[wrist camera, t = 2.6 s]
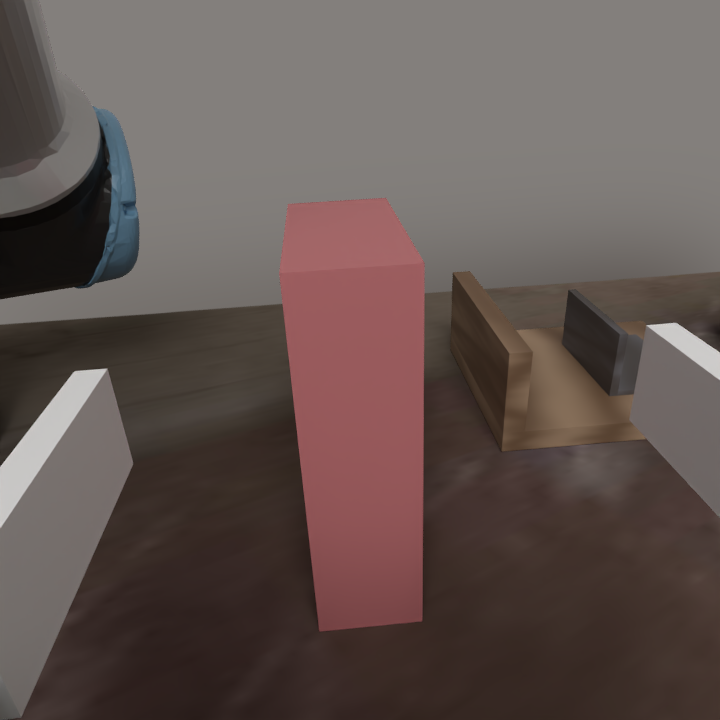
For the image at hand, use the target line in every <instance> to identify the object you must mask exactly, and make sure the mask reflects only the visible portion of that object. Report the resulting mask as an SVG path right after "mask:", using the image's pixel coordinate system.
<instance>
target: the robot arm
mask: <svg viewBox="0 0 720 720" xmlns="http://www.w3.org/2000/svg"><path fill="white" fill-rule="evenodd" d="M135 204H136V189H135V182H134V176H133V171H132V165H131V160H130V156H129V151H128V147H127V144H126V140H125V137H124V134H123V131H122V128H121V126H120V123H119V121H118V120H117V118H116V117H115V116H114V115H113V114H112V113H111V112H109V111H108V110H105V109H97V108H95V107H94V106H92V105H91V103H90V101H89V99H88V98H87V96H86V95H85V93H84V92H83V91H82V90H81V89H80V88H79V86H77V84H76V83H75V82H73V81H72V80H71V79H70V78H68V77H67V76H66V75H65V74H63V73H62V72H60V71H59V70H57V67H56V63H55V59H54V56H53V52H52V48H51V44H50V40H49V36H48V33H47V29H46V25H45V21H44V17H43V13H42V9H41V5H40V2H39V0H0V299H5V298H11V297H17V296H23V295H29V294H35V293H41V292H47V291H53V290H58V289H65V288H72V287H75V288H87V287H90V286H92V285H93V284H95V283H98V282H103V281H107V280H112V279H116V278H120V277H123V276H124V275H126V274H127V273H129V272H130V271H131V270H132V268H133V267H134V265H135V263H136V261H137V257H138V251H139V219H138V212H137V209H136V207H135ZM629 420H630V421H631V422H632V423H633V425H634V426H635V427H636V428H637V429H638V430H639V431H640V432H641V433H642V434H643V435H644V436H645V437H646V439H647V440H648V441H649V442H650V443H651V444H652V445H653V446H654V447H655V448H656V449H657V450H658V451H659V453H660V454H661V455H662V456H663V457H664V458H665V459H666V460H667V461H668V462H669V463H670V464H671V466H672V467H673V468H674V469H675V470H676V471H677V472H678V473H679V474H680V475H681V476H682V477H683V478H684V480H685V481H686V482H687V483H688V484H689V485H690V486H691V487H692V488H693V489H694V490H695V491H696V493H697V494H698V495H699V496H700V497H701V498H702V499H703V500H704V501H705V502H706V503H707V504H708V505H709V507H710V508H711V509H712V510H713V511H714V512H715V513H716V514H717V515H718V516H719V517H720V352H718V351H717V350H715V349H714V348H712V347H711V346H709V345H708V344H706V343H705V342H703V341H702V340H700V339H699V338H698V337H696V336H695V335H693V334H692V333H690V332H689V331H687V330H686V329H684V328H683V327H681V326H680V325H678V324H677V323H670V324H658V325H646V330H645V335H644V341H643V347H642V352H641V358H640V363H639V369H638V374H637V380H636V385H635V391H634V396H633V402H632V407H631V413H630V419H629ZM132 466H133V461H132V457H131V453H130V449H129V446H128V442H127V438H126V435H125V431H124V427H123V424H122V420H121V416H120V413H119V409H118V405H117V402H116V398H115V394H114V390H113V387H112V383H111V379H110V376H109V372H108V369H96V370H84V371H74V373H73V374H72V375H71V376H70V378H69V379H68V380H67V382H66V383H65V384H64V385H63V387H62V388H61V389H60V391H59V392H58V393H57V394H56V396H55V397H54V398H53V400H52V401H51V402H50V404H49V405H48V406H47V407H46V409H45V410H44V411H43V413H42V414H41V415H40V416H39V418H38V419H37V420H36V422H35V423H34V424H33V425H32V427H31V428H30V429H29V431H28V432H27V433H26V434H25V436H24V437H23V438H22V440H21V441H20V442H19V444H18V445H17V446H16V447H15V449H14V450H13V451H12V453H11V454H10V455H9V456H8V458H7V459H6V460H5V462H4V463H3V464H2V465H1V467H0V720H3V719H12V718H21V717H22V714H23V712H24V710H25V708H26V705H27V703H28V701H29V699H30V696H31V694H32V692H33V690H34V687H35V685H36V683H37V681H38V678H39V676H40V674H41V671H42V669H43V667H44V665H45V662H46V660H47V658H48V656H49V653H50V651H51V649H52V647H53V644H54V642H55V640H56V638H57V635H58V633H59V631H60V629H61V626H62V624H63V622H64V619H65V617H66V615H67V613H68V610H69V608H70V606H71V604H72V601H73V599H74V597H75V595H76V592H77V590H78V588H79V586H80V583H81V581H82V579H83V577H84V574H85V572H86V570H87V567H88V565H89V563H90V561H91V558H92V556H93V554H94V552H95V549H96V547H97V545H98V543H99V540H100V538H101V536H102V534H103V531H104V529H105V527H106V525H107V522H108V520H109V518H110V515H111V513H112V511H113V509H114V506H115V504H116V502H117V500H118V497H119V495H120V493H121V491H122V488H123V486H124V484H125V482H126V479H127V477H128V475H129V472H130V470H131V468H132Z"/></svg>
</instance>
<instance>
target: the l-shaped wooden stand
mask: <svg viewBox="0 0 720 720" xmlns="http://www.w3.org/2000/svg"><path fill="white" fill-rule="evenodd" d="M452 285H453V286H452V319H451V352H452V354H453V356H454V358H455V360H456V362H457V364H458V366H459V368H460V370H461V372H462V374H463V376H464V378H465V380H466V382H467V384H468V386H469V387H470V389H471V391H472V393H473V395H474V397H475V399H476V401H477V403H478V405H479V407H480V409H481V411H482V413H483V415H484V417H485V419H486V421H487V423H488V425H489V427H490V429H491V431H492V433H493V435H494V437H495V439H496V441H497V443H498V445H499V447H500V449H501V451H514V450H525V449H537V448H549V447H560V446H572V445H583V444H595V443H606V442H618V441H630V440H641V439H646V437H645V436H644V435H643V434H642V433H641V432H640V431H639V430H638V429H637V428H636V427H635V426H634V425H633V423H632V422H631V421H630V420H629V419H630V413H631V407H632V402H633V396H634V391H635V385H636V380H637V374H638V369H639V363H640V358H641V352H642V347H643V341H644V335H645V330H646V324H645V323H644V322H643V321H633V322H620V323H615V322H614V321H613V320H611V319H610V318H609V317H608V316H607V315H605V314H604V313H603V312H602V311H601V310H600V309H598V308H597V307H596V306H595V305H594V304H592V303H591V302H590V301H589V300H588V299H586V298H585V297H584V296H583V295H582V294H580V293H579V292H578V291H577V290H576V289H575V290H569V291H568V299H567V307H566V315H565V323H564V327H554V328H540V329H527V330H515V328H514V327H513V326H512V324H511V323H510V322H509V321H508V319H507V318H506V317H505V316H504V314H503V313H502V312H501V310H500V309H499V308H498V307H497V305H496V304H495V303H494V302H493V300H492V299H491V298H490V296H489V295H488V294H487V293H486V291H485V290H484V289H483V287H482V286H481V285H480V284H479V282H478V281H477V280H476V279H475V277H474V276H473V275H472V273H471V272H470V271H468V272H454V273H453V283H452Z"/></svg>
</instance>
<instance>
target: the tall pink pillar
mask: <svg viewBox="0 0 720 720" xmlns="http://www.w3.org/2000/svg"><path fill="white" fill-rule="evenodd" d="M279 275H280V284H281V293H282V302H283V311H284V320H285V329H286V338H287V347H288V355H289V364H290V373H291V382H292V391H293V400H294V409H295V418H296V427H297V436H298V445H299V454H300V463H301V472H302V481H303V490H304V499H305V508H306V516H307V525H308V534H309V543H310V552H311V561H312V570H313V579H314V588H315V597H316V606H317V615H318V624H319V632H321V631H331V630H341V629H351V628H361V627H370V626H380V625H390V624H400V623H410V622H420V621H422V609H423V432H424V262H423V260H422V258H421V256H420V255H419V253H418V251H417V250H416V248H415V246H414V245H413V243H412V241H411V240H410V238H409V236H408V234H407V233H406V231H405V229H404V228H403V226H402V224H401V223H400V221H399V219H398V218H397V216H396V214H395V212H394V211H393V209H392V207H391V206H390V204H389V202H388V201H387V199H386V198H378V199H377V198H376V199H361V200H345V201H329V202H312V203H297V204H288V208H287V216H286V224H285V232H284V240H283V248H282V256H281V264H280V272H279Z"/></svg>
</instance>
